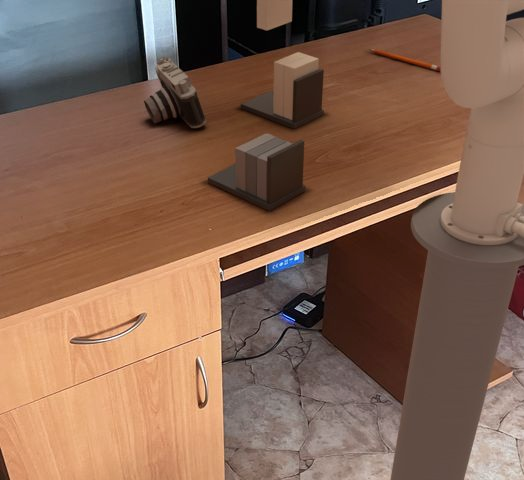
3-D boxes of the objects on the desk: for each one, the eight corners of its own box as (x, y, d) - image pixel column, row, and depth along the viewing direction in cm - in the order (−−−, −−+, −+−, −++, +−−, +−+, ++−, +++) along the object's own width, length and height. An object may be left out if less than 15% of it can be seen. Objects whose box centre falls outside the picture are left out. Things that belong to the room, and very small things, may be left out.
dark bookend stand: (323, 114, 154) (327, 58, 147) (294, 129, 149) (295, 71, 142) (270, 95, 162) (271, 41, 154) (240, 108, 156) (239, 52, 149)
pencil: (438, 71, 171) (439, 67, 171) (367, 51, 181) (367, 47, 180) (440, 70, 172) (441, 66, 171) (369, 50, 181) (369, 46, 181)
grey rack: (305, 191, 131) (307, 140, 125) (269, 211, 126) (269, 159, 120) (244, 164, 138) (243, 115, 132) (207, 182, 133) (205, 132, 127)
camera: (142, 113, 158) (124, 67, 151) (180, 95, 159) (163, 49, 152) (169, 144, 147) (151, 97, 140) (209, 124, 149) (193, 76, 142)
